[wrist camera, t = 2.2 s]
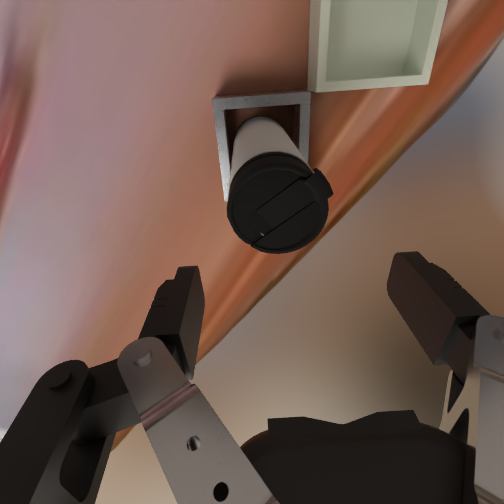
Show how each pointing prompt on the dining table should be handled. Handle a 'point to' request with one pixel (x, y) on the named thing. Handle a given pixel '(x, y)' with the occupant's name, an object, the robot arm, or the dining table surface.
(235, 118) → the dining table surface
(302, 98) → the sleeve
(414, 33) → the tray
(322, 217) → the travel mug
